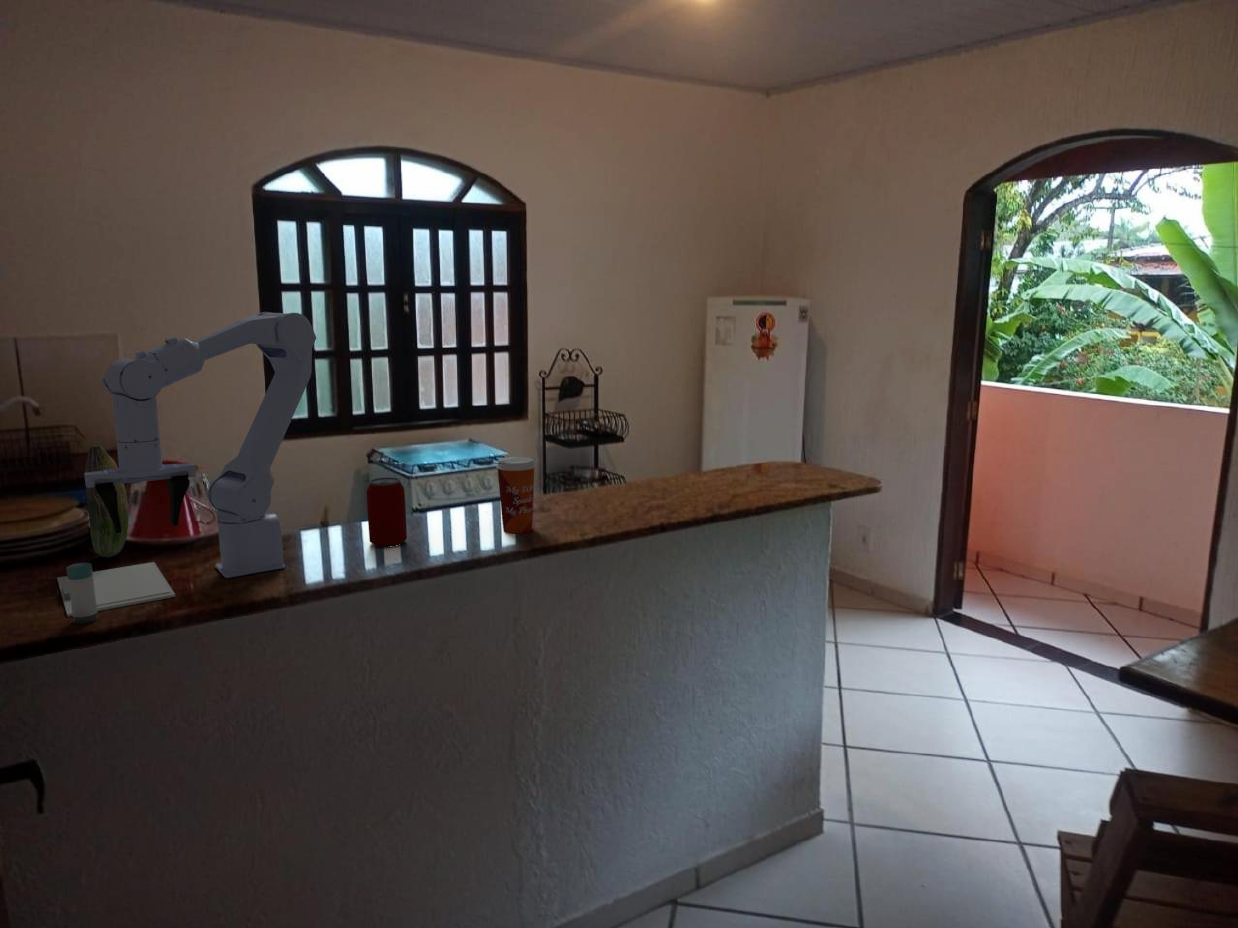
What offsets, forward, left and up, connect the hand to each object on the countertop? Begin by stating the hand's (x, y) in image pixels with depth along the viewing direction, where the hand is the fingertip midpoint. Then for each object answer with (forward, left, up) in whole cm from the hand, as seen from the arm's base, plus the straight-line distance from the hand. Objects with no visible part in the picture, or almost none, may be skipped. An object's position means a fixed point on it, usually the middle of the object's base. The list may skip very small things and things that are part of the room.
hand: (146, 527), depth 131 cm
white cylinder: (+10, +7, -10) cm, 16 cm away
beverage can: (-39, -4, -11) cm, 41 cm away
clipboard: (+5, -6, -10) cm, 13 cm away
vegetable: (+3, -25, -11) cm, 27 cm away
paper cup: (-63, +2, -11) cm, 64 cm away
